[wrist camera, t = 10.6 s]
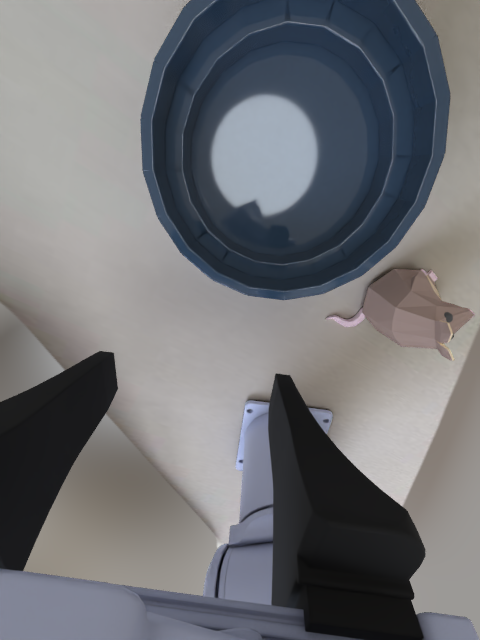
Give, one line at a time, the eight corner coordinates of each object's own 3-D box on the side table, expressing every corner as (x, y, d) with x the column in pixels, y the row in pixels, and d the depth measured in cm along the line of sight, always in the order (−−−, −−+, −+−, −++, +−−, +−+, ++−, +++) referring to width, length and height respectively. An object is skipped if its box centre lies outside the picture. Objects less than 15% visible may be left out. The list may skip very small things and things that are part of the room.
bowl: (362, 286, 21) (385, 313, 17) (168, 261, 21) (146, 283, 17) (447, 21, 15) (516, -33, 11) (166, -12, 15) (131, -78, 11)
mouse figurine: (317, 288, 22) (338, 335, 16) (434, 253, 20) (508, 290, 14) (332, 345, 24) (356, 405, 18) (439, 318, 22) (505, 373, 16)
